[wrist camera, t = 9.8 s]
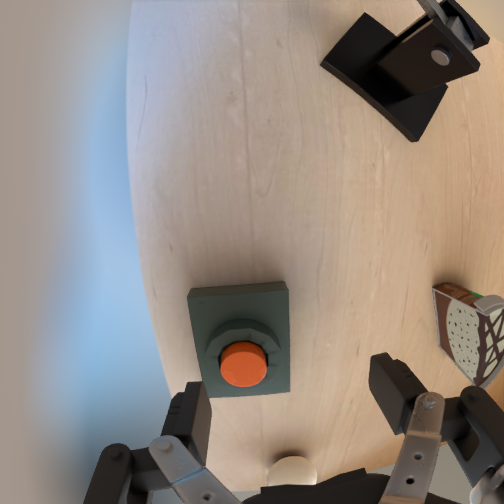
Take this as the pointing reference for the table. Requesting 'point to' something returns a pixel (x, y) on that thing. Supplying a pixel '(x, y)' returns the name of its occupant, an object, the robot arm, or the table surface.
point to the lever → (447, 21)
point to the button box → (242, 333)
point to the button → (243, 364)
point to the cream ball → (292, 472)
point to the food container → (471, 331)
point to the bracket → (405, 65)
